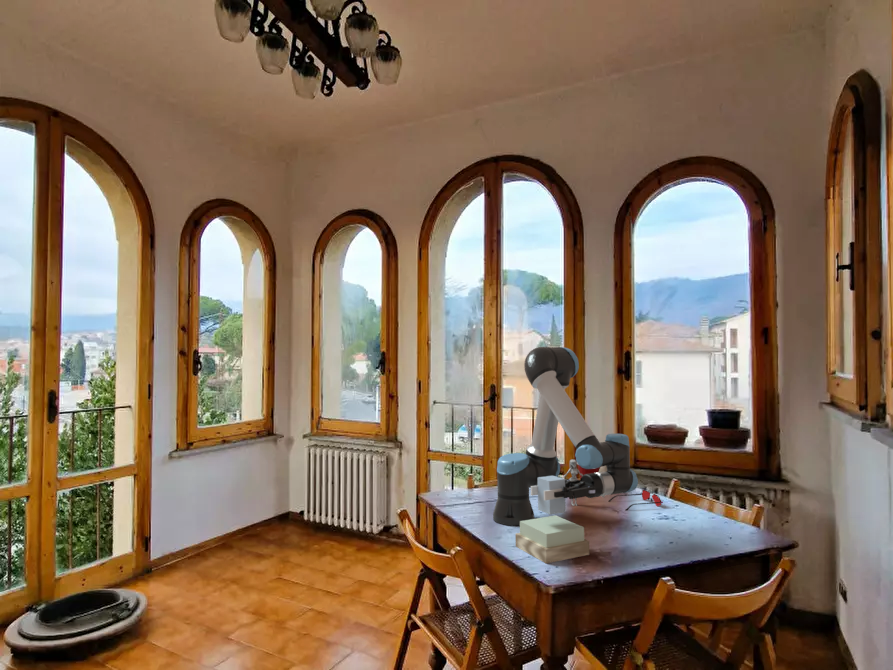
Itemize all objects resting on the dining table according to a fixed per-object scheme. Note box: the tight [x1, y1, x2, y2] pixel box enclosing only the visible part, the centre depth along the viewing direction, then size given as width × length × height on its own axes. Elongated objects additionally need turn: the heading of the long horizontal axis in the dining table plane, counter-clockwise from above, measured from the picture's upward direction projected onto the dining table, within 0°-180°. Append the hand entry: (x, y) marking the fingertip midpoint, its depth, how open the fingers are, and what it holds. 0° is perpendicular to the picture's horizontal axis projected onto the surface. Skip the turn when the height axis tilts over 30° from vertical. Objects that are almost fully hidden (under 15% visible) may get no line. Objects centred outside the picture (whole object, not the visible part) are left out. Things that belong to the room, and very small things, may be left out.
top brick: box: [519, 514, 585, 548], centre depth 168 cm, size 14×14×4 cm
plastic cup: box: [576, 462, 601, 480], centre depth 243 cm, size 11×11×12 cm
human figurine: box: [562, 459, 583, 507], centre depth 220 cm, size 12×4×18 cm, turn 97°
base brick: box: [515, 532, 590, 564], centre depth 168 cm, size 16×16×4 cm
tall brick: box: [537, 476, 567, 516], centre depth 168 cm, size 6×6×10 cm
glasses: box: [608, 489, 664, 511], centre depth 219 cm, size 14×16×5 cm
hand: (537, 493), depth 166 cm, fingers closed on tall brick, 6 cm apart
